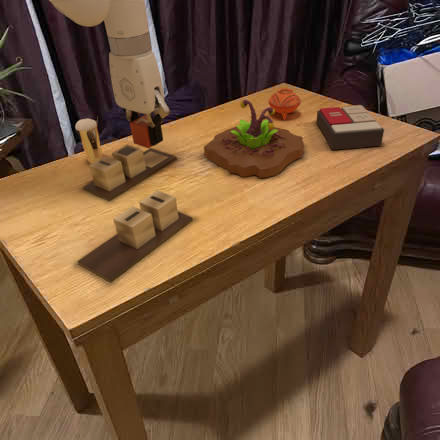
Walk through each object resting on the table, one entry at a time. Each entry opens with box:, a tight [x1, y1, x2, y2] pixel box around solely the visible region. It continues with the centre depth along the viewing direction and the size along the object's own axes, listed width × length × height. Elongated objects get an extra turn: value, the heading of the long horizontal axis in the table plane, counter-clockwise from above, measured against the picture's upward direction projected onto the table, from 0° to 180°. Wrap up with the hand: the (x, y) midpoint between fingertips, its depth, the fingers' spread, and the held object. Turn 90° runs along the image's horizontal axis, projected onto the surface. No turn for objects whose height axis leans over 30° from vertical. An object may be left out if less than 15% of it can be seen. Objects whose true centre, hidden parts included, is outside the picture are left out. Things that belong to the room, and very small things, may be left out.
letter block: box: [129, 114, 163, 149], centre depth 89 cm, size 4×4×5 cm
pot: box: [268, 87, 302, 121], centre depth 106 cm, size 8×8×7 cm
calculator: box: [316, 104, 385, 151], centre depth 97 cm, size 11×4×15 cm
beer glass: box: [75, 117, 104, 164], centre depth 92 cm, size 5×5×10 cm
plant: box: [203, 99, 305, 179], centre depth 90 cm, size 20×20×11 cm
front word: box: [77, 189, 194, 283], centre depth 72 cm, size 8×20×5 cm, turn 143°
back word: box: [82, 144, 178, 202], centre depth 89 cm, size 8×20×5 cm, turn 143°
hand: (148, 139), depth 91 cm, fingers closed on letter block, 4 cm apart
